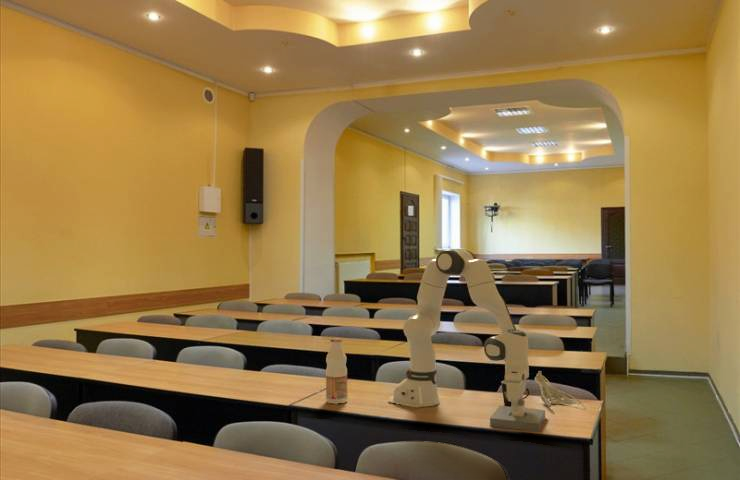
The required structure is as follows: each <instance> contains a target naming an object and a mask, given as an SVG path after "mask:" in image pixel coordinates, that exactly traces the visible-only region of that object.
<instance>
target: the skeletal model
mask: <svg viewBox="0 0 740 480" xmlns="http://www.w3.org/2000/svg"><path fill="white" fill-rule="evenodd" d="M534 382H536V384H537V385H539V388H540V396H539V397H540V399H541V401H542V402H543V403H544V404H545V405H546V406H547V407H548V408H549V410H550V411H551V412H552V413H553V414H555V412H554V410H553V409H552V404H555V405H563V404H564V405H568V406H569V405H570V406H572V405H581V406H582V407H583V408H584V409H585V410H587V408H586V407H585V405H584V404H583V403H582V402H581V401H580V400H579V399H577V398H576V397H575V396H573V395H571V394H569V393H567V392H564V391H561V390H559V389H556V388H555V387H554V386H552V384H551V382H550V381H549V380H548V379H547V378H546V377H545V375H543V374H542V370H538V373H536V376H535V377H534ZM566 395H568V396H569V397H571V398H573V399H574V400H573V399H571V398H569V397H568V396H566ZM560 396H561V397H563V399H562V398H561V397H560Z"/></svg>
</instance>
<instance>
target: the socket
mask: <svg viewBox="0 0 740 480" xmlns="http://www.w3.org/2000/svg"><path fill="white" fill-rule="evenodd" d="M545 419H546V409H535V408H526V407H525V417H519V416H511V407H508V406H504V405H498V407H497V408H496V409H495V411H494V412H493V413H492V415H491V416H490V417H489V426H490V427H495V428H497V427H498V428H504V429H514V430H520V431H521V430H523V431H529V432H538V433H539V432H540V430H541V428H542V426H543V424H544V422H545Z"/></svg>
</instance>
